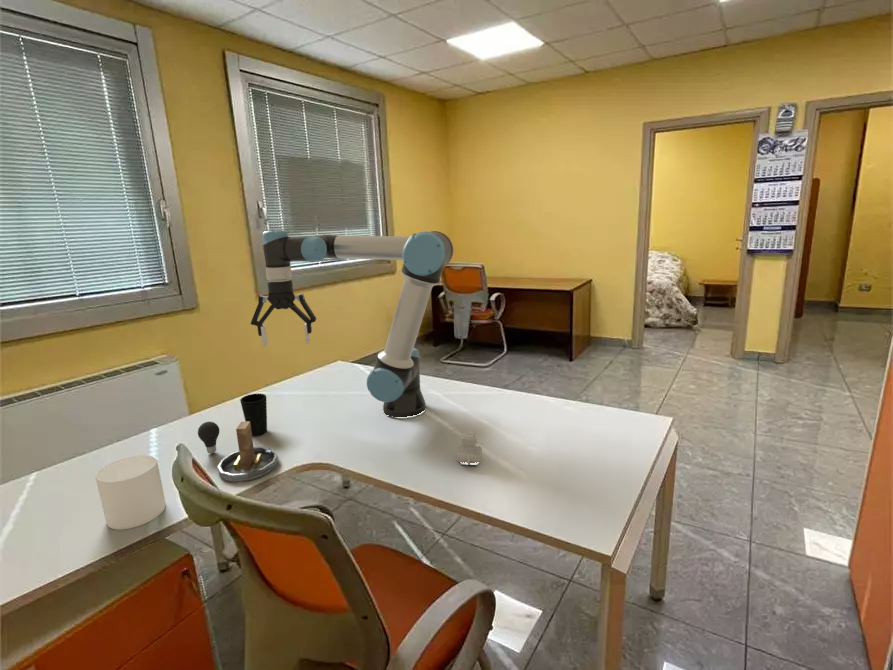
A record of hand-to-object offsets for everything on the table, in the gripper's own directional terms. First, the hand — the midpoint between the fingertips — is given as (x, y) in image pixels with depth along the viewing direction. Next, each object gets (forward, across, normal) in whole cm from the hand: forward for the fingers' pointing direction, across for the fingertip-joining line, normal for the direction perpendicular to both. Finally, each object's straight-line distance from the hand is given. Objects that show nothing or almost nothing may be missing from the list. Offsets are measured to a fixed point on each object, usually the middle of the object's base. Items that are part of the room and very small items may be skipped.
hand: (286, 344), depth 150 cm
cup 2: (+27, +10, +9) cm, 30 cm away
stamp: (+27, -54, +39) cm, 72 cm away
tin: (+27, +7, +31) cm, 42 cm away
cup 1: (+27, +28, +48) cm, 62 cm away
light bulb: (+27, +20, +21) cm, 40 cm away
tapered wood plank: (+26, +7, +31) cm, 41 cm away
